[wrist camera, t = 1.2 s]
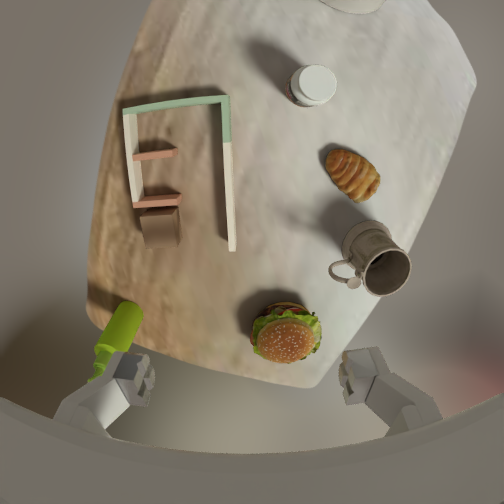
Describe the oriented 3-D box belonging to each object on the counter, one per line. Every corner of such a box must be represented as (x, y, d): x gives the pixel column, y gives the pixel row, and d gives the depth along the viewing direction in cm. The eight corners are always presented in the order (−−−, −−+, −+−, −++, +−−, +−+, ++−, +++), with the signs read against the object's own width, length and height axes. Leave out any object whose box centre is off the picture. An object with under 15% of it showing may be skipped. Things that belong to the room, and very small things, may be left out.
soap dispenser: (151, 313, 55) (120, 389, 37) (132, 326, 57) (100, 396, 39) (132, 294, 53) (92, 366, 35) (113, 308, 55) (74, 376, 37)
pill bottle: (285, 71, 35) (294, 57, 26) (322, 75, 35) (341, 63, 26) (284, 106, 38) (293, 102, 29) (321, 109, 38) (340, 107, 29)
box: (130, 109, 37) (122, 109, 35) (230, 96, 37) (228, 94, 34) (147, 245, 48) (141, 253, 45) (236, 243, 48) (235, 251, 45)
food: (307, 350, 59) (312, 377, 52) (244, 341, 58) (243, 369, 51) (329, 302, 53) (339, 328, 46) (260, 290, 52) (260, 317, 45)
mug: (395, 221, 46) (428, 251, 35) (385, 269, 50) (411, 306, 39) (319, 219, 46) (339, 251, 35) (314, 270, 50) (328, 312, 39)
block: (147, 209, 45) (139, 216, 42) (178, 206, 45) (172, 214, 42) (153, 238, 48) (145, 248, 44) (182, 237, 48) (177, 247, 44)
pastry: (314, 170, 42) (319, 174, 39) (338, 137, 40) (346, 138, 36) (356, 203, 45) (364, 210, 41) (380, 173, 42) (389, 177, 39)
